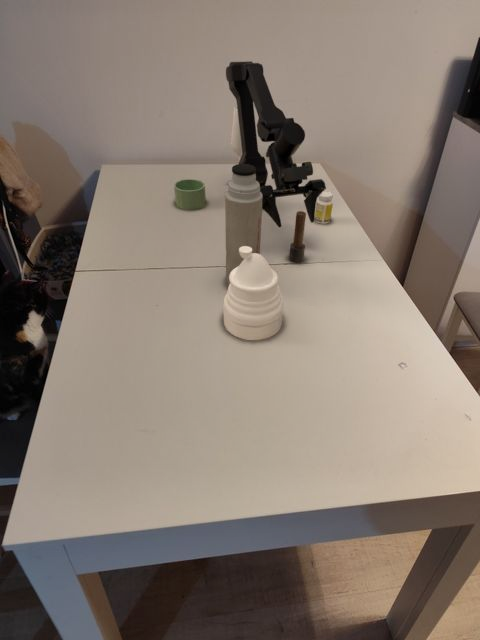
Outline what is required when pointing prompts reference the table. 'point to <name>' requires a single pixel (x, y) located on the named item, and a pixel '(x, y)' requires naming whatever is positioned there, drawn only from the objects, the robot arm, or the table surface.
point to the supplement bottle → (324, 207)
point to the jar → (190, 194)
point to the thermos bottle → (242, 215)
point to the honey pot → (253, 299)
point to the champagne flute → (236, 135)
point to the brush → (298, 239)
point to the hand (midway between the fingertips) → (296, 224)
